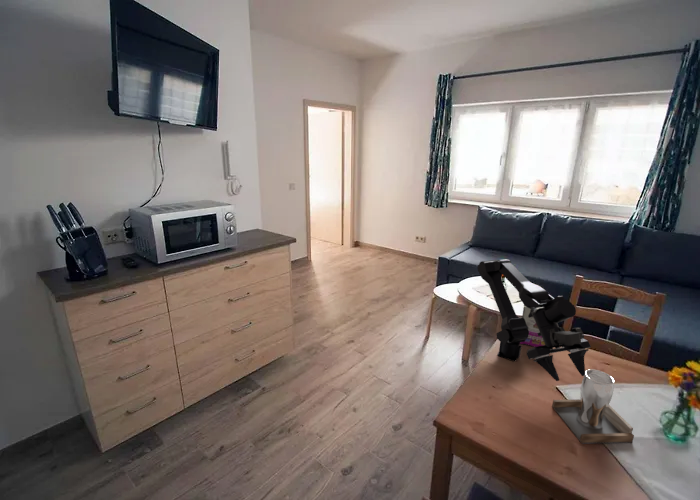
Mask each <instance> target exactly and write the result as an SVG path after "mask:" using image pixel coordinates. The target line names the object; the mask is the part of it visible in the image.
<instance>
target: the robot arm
mask: <svg viewBox="0 0 700 500" xmlns="http://www.w3.org/2000/svg"><path fill="white" fill-rule="evenodd" d="M477 271H478V274H479V275H480V278H481V279H482V280H483V281H484V282H486V283H487V284H488V286H489V289H490V290H491V294H492V296H493V298H494V301H495V303H496V306H497V308H498V311H499V314H500V316H501V326H500V328H501V330H500V331H498V332H496V339H497V340H498V341H499V348H498V349H499V350H498V352H497V355H496V356H498V357H501V358H503V359H507V360H510V361H512V362H517V360H518V359H519V358H520V357H521V352H522V344H520V342H525V340H526V339H527V338H528V335H529V330H528V328H529V327H528V326H527V324H526V322H525V319H524V318H522V317H520V316H519V315H517V314H516V312H515V309H514V306H513V304H512V302H511V301H512V300H511V299H510V297H509V295H508V293H507V290H506V287H505V285H504V283H503V279H502V278H503V276H504V278H505V279H506V280H507V281H508V282H509V283H510V285H512V286H513V287H514V288H515V290H516V291H517V292H518V297H519V299H520V301H521V302H522V304H523V306H524V305H525V306H526V307H528V308H539V309H531V310H530V313H529V315H528V317H529V318H530V317H534V320H535V322H536V324H537V327H538V329H539V331H540V332H539V333H537V334H538V336H542V338H543V341H544V343H545V345H544V346H537V347H532V348H529V349H526V356H527V359H528V360H532V362H536V363H537V364H538V365H539V366H540V367H542V368H543V369H544V370H545V371H546V372H547V373H548V374H549V376H550V377H552V379H554V380H555V381H556V382H558V381H560V378H559V374H558V372H557V369H556V367H555V365H554V362H553V359H554V358H553V357H554V355H553V354H554V353H559V352H560V353H561V352H568V354H567V356H568V357H569V359H570V360H571V362H572V363H573V365H574V367H575V368H576V370H577V372H579V374H580V375H581V377H584V375H585V371H586V366H585V355H586V353H587V352H588V351H589V348H591V347H592V346H591V344H590V342H589V340H587V339H585V335H584V331H583V330H582V329H581V327H573V328H571V329H570V331H567V330H565V328H564V327H563V326H559V324H558V323H561V322H564V321H566V320H568V319H570V318H573V317H575V316H576V313H577V309H576V307H575V305H574V304H573V303H572V302H571V301H570V300H568V299H565V298H564V296H563V295H558V296H556V297H553V296H552V295H550V294H549V293H548V291H547V290H546V289H544V288H543V287H541V286H540V285H538V284H535V283H532V282H531V281H530V280H529V279H527V277H525V275H524V274H522V272H520V270H518V269H517V268H516V266H515V265H513V263H512V261H511V260H510V259H506V258H504V259H497V260H496V259H493V260H482V261H480V262H479V263H478V264H477ZM540 307H544V308H540ZM551 354H552V355H551Z"/></svg>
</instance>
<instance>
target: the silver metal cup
mask: <svg viewBox="0 0 700 500" xmlns="http://www.w3.org/2000/svg"><path fill="white" fill-rule="evenodd" d="M615 382H616V381H615V379H614V377H612V376H611V374H608V373H607V372H604V371H602V370H599V369H594V368H590V369H585V375H584V376H582V381H581V386H580V394H579V395H580V399H581V405H580V409H579V411H578V413H577V416H576V418H577V420H578V421H579V423H581V424H582V425H583V426H585V427H587V428H589V429H593V430H599V429H601V428H602V425H603V422H602V419H603V414H604V412H605V410H606V409H607V407H608V405H610V403H611V400H612V397H613V395H614V388H615Z"/></svg>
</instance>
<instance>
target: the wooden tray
mask: <svg viewBox="0 0 700 500" xmlns="http://www.w3.org/2000/svg"><path fill="white" fill-rule="evenodd" d="M580 405H581V398H580V399H553V400H552V405H551V407H552V408H553V410H554V412H555V413H557V414H558V416H559V417H560V419H561V420H562V421H563V422H564V424H565V425H566V426H567V427H568V428H569V430H570V431H571V432H572V434H573V435H574V436H575V437H576V439H577V440H579V442H580V444H582V445H585V444H586V445H587V444H589V445H590V444H594V445H595V444H631V443H632V444H633V440H634V439H635V438H634V437H635V435H634V433H633V430H634V427H633V426H631V424H629V422H627V421H626V420H625V418H623V416H622V415H620V414H619V413H618V411H616V409H614V408H613V407H612V406H611V405H610V404H609V405H608V407H607V409H606V410H605V412H604V414H603V419H602V422H603V425H602V428H601V429H599V430H593V429H589V428H587V427H585V426H583V425H582V424H581V423H579V421H578V420H577V418H576V416H577V413H578V411H579V409H580Z"/></svg>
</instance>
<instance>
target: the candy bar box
mask: <svg viewBox="0 0 700 500" xmlns="http://www.w3.org/2000/svg"><path fill="white" fill-rule="evenodd" d="M522 308H523V310H522V316H521V318H524V319H525V322H526V324H527V326H528V327H529V328H528V330H529V335H528V338H527V339H526V340H525V342H520V345H525V346H529V347H532V348H534V347H537V346H544V345H545V343H544V341H543V338H542V336H538V334H537V333H539V332H540V331H539V329H538V327H537V324H536V322H535V320H534V317H530V318H529V317H528V315H529V313H530V310H531V309H539V308H528V307H526V306H525V305H524V304H523V307H522ZM540 308H544V307H540Z"/></svg>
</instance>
